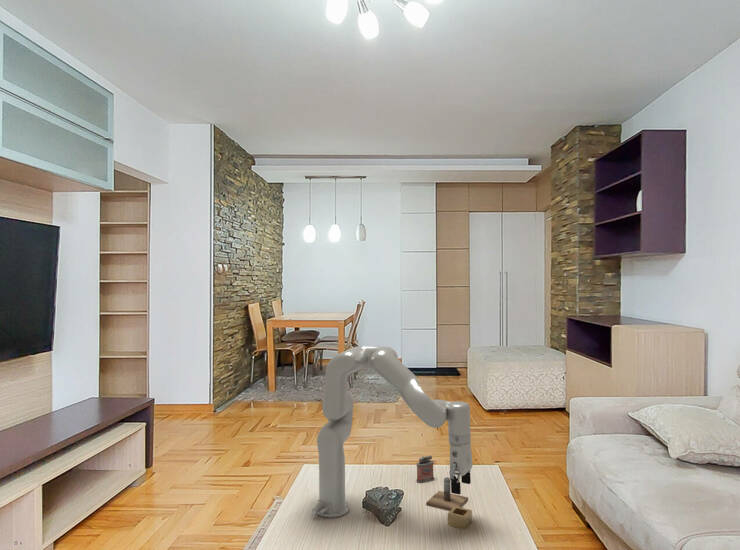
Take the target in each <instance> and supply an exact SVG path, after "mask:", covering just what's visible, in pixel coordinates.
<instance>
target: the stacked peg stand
mask: <svg viewBox="0 0 740 550" xmlns="http://www.w3.org/2000/svg"><path fill="white" fill-rule="evenodd" d="M468 501H469V496H463V495H461V494H460V495H459V494H454V493H451V481H450V477H444V478H443V491H441V490H438V491H437V492H436V493H434V494H433V495H432V497H430V498H429V499H428V500H427V501H426V502H425V503H426V504H425V506H427V507H428V506H429V507H432V508H436V509H441V510H445V511H448V512H449V511H450V510H451V509H452V508H453V507H454V506H456V507H461V508H463V506H464V505H465V504H466V503H467V502H468Z"/></svg>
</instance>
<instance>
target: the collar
mask: <svg viewBox="0 0 740 550" xmlns="http://www.w3.org/2000/svg"><path fill="white" fill-rule="evenodd" d="M471 523H473V510H472V509H469V508H464V507H456V506H454V507H453V508H452V509H451V510H450V511H448V512H447V526H449V527H453V528H458V529H462V530H464V531H465V530H467V529H468V528H469V527H470V525H471Z"/></svg>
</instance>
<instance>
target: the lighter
mask: <svg viewBox="0 0 740 550" xmlns="http://www.w3.org/2000/svg"><path fill="white" fill-rule="evenodd" d="M432 459H433V456H432V455H427V456H421V457H419V458H418V462H417V463H416V483H418V484H425V483H429V482H432V481H434V480H435V477H434V461H433V460H432Z"/></svg>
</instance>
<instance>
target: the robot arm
mask: <svg viewBox="0 0 740 550" xmlns="http://www.w3.org/2000/svg"><path fill="white" fill-rule="evenodd" d="M398 358H399V357H398V354H397V352H396V350H395V349H394V348H392V347H389V346H353V347H351V348H349V349H347V350H344V351H342V352H339V353H338V354H336V355H334V356H333V357H332V358H331V359H330V360H329V361H328V363H327V365H326V368H325V374H324V375H325V376H324V387H323V395H322V396H323V398H322V405H321V407H322V408H321V410H322V413H323V416H324V418H325V419H326V420H327V422H326V423H325V424H324V425H323V426H322V427H321V428H320V430H319V431H318V434H317V438H316V446H317V450H318V476H319V477H318V485H319V486H318V491H319V492H318V494H319V495H318V498H319V499H318V501H317V504H316V505H315V506H314V508H312V509H311V513H312V514H313V515H316V514H317V515H318V516H319V517H323V518H330V519H331V518H332V519H333V518H339V517H343V516H345V515H346V514H348V513H349V511H350V504H349V503H348V502H347V501H346V457H345V449H344V444H345V442H346V441H347V440H348V439H349V437H350V435H351V433H352V428H353V427H352V425H353V415H354V413H353V412H354V398H353V396H352V394H351V393H350V392H349V391H348V386H349V381H348V376H349V375H351V374H354V373H356V372H358V371H360V370H362V369H365V370H368V369H369V370H370V369H371V370H372V369H373V370H374V371H375V372H376V373H377V374H378V375H379V376H380V377H381V378H382V379H383V380H384V381H385V382H386V383H388V384H389V385H390V386H391V387H392V388H393V389H394V390H395V391H396V392H397V393H398V395H400V397H401V398H402V400H403V401H404V403H405V404H406V405H407V407H408V408H409V410H411V411H412V413H414V414H415V416H417V417H418V418H419V419H420V420H421V421H422V422H423V423H424V424H425V425H427V426H429V427H430V428H432V429H433V428H434V429H436V428H437V429H438V428H440V427H443V425H444V424H445V423H446V421H447V428H448V430H447V431H448V444H450V445H449V473H448V474H449V479H450V493H451V494H455V495H460V496H461V494H462V493H461V489H462V488H461V483H462V484H466V485H470V484H471V483H472V482H471V481H472V480H471V470H472V468H473V455H472V454H473V453H472V446H471V445H472V440H471V439H472V438H471V437H472V436H471V412H470V411H471V410H470V405H469V403H467V402H465V401H462V400H461V401H459V400H457V401H456V400H455V401H450V400H445V399H433V400H432V399H431V398H430V397H429V396H428V395H427V394H426V392H425V391H424V390H423V388H422V387H421V385H420V383H419V381H418V378H417V376H416V375H415V373H413V372H412V371H411V370H410V369H409V368H408V367H407V366H406V365H404V364H403V362H402V361H400V359H398ZM460 479H461V482H460Z"/></svg>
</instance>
